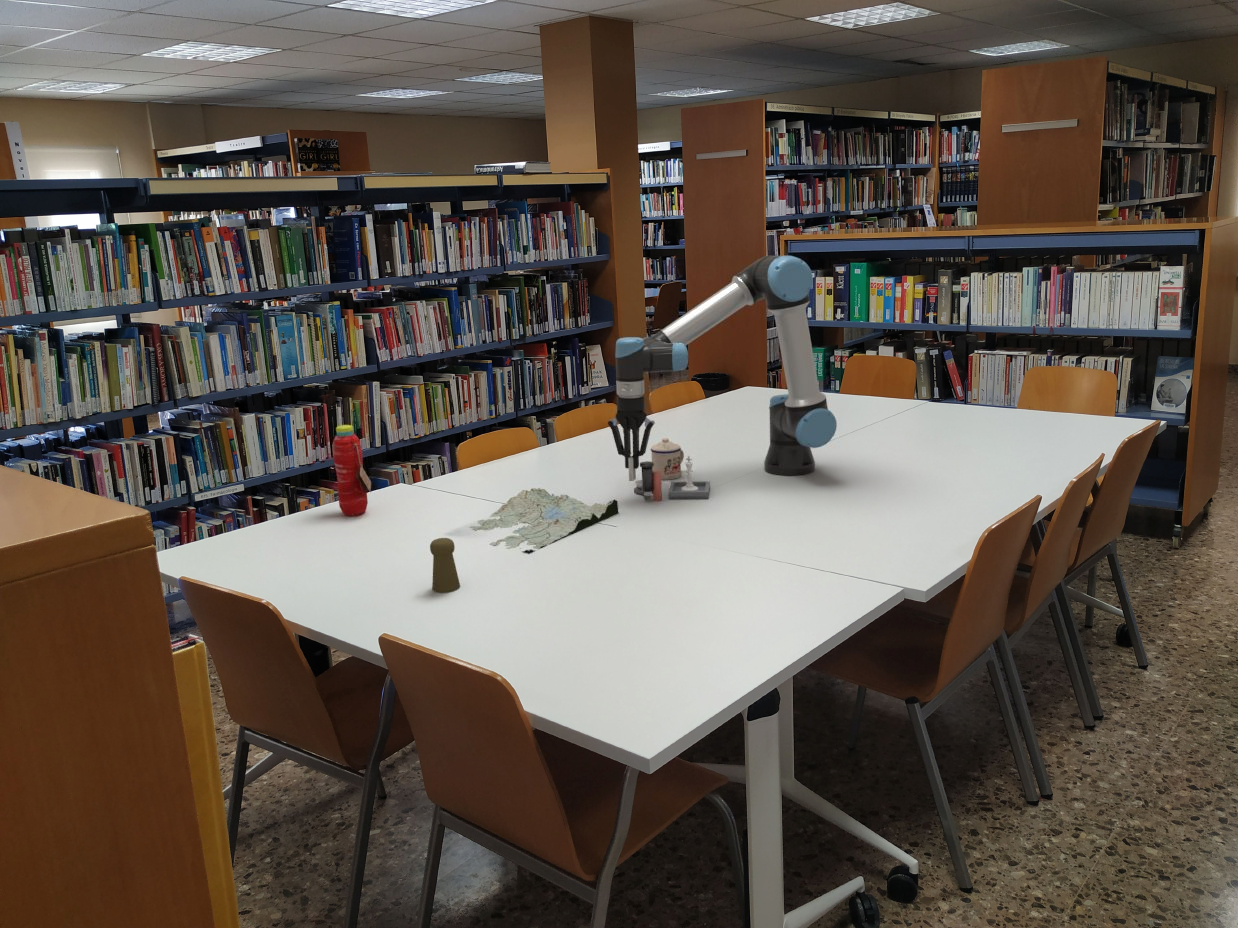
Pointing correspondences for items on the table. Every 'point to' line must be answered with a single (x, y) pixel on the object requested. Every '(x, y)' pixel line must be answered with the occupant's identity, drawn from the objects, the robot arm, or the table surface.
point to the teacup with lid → (667, 459)
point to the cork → (444, 566)
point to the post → (657, 486)
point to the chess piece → (689, 477)
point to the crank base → (639, 491)
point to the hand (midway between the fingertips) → (632, 479)
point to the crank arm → (646, 478)
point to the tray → (678, 494)
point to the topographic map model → (545, 518)
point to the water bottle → (350, 472)
